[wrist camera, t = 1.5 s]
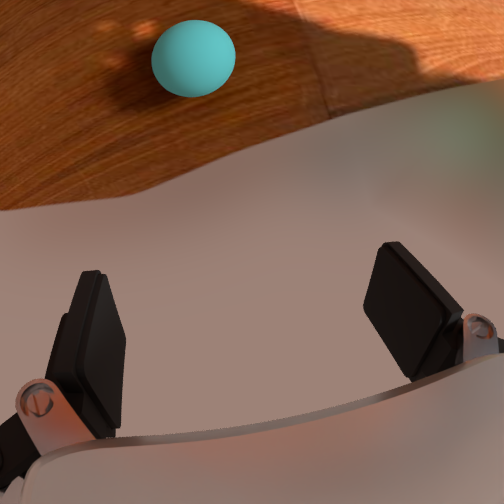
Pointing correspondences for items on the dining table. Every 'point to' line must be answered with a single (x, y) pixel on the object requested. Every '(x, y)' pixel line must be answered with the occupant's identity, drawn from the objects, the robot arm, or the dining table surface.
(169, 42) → the ball
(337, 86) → the dining table surface
